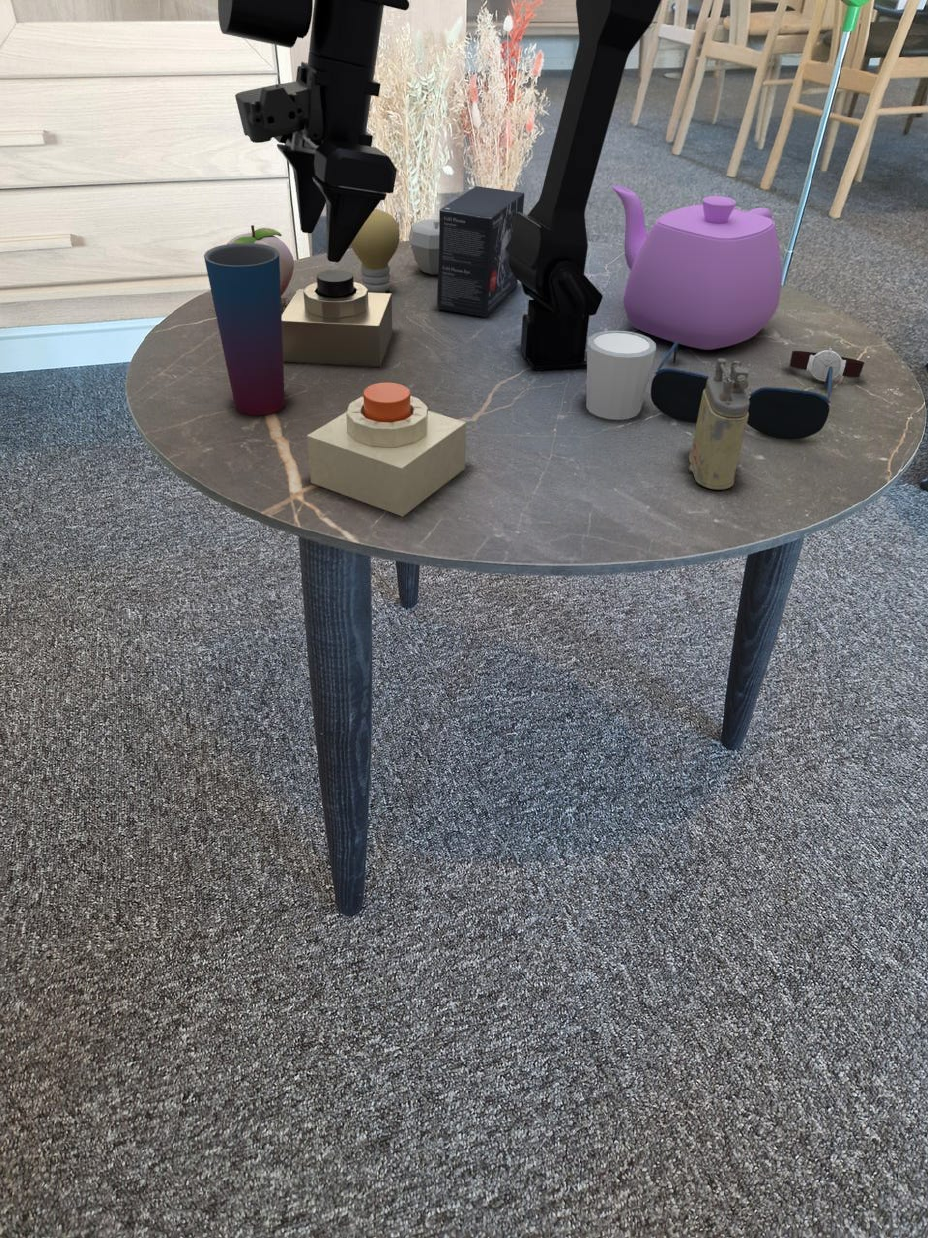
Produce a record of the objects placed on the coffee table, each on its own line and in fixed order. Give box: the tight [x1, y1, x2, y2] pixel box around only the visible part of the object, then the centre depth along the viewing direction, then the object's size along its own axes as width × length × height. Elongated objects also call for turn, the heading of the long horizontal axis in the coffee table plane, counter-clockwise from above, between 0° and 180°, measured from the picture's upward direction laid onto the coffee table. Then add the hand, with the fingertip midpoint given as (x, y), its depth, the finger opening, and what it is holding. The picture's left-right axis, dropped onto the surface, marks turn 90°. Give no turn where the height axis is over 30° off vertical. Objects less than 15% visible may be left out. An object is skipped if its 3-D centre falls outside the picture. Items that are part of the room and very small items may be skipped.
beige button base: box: [282, 281, 393, 368], centre depth 105 cm, size 11×10×6 cm
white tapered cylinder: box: [585, 330, 657, 421], centre depth 94 cm, size 7×7×7 cm
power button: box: [362, 382, 411, 422], centre depth 80 cm, size 4×4×2 cm
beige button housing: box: [306, 395, 467, 518], centre depth 82 cm, size 10×10×6 cm
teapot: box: [611, 184, 783, 351], centre depth 112 cm, size 23×21×15 cm
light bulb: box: [350, 208, 401, 293], centre depth 119 cm, size 6×6×10 cm
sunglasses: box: [650, 342, 833, 440], centre depth 98 cm, size 17×15×5 cm
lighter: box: [688, 358, 750, 490], centre depth 83 cm, size 7×4×10 cm, turn 177°
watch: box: [789, 347, 865, 382], centre depth 103 cm, size 8×5×4 cm, turn 70°
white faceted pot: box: [408, 218, 439, 276], centre depth 126 cm, size 8×8×7 cm
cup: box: [203, 243, 286, 416], centre depth 90 cm, size 7×7×15 cm
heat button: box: [316, 269, 355, 298], centre depth 103 cm, size 4×4×2 cm
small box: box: [436, 185, 525, 318], centre depth 117 cm, size 13×7×12 cm, turn 160°
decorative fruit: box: [226, 224, 295, 297], centre depth 113 cm, size 9×8×10 cm
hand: (319, 246), depth 88 cm, fingers open, 9 cm apart
